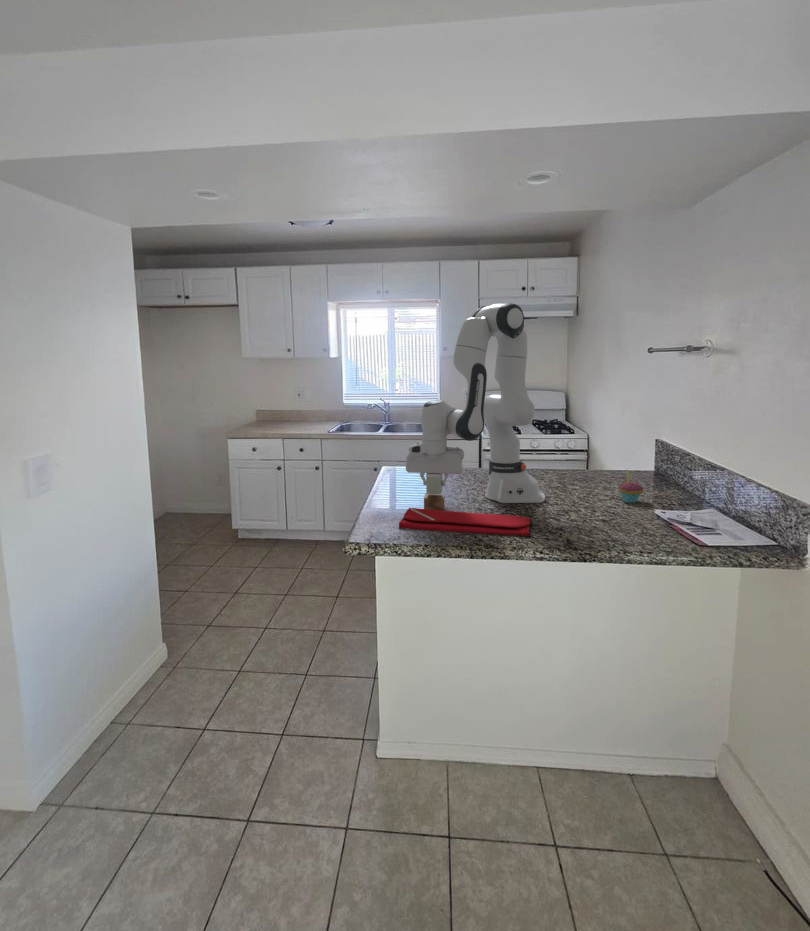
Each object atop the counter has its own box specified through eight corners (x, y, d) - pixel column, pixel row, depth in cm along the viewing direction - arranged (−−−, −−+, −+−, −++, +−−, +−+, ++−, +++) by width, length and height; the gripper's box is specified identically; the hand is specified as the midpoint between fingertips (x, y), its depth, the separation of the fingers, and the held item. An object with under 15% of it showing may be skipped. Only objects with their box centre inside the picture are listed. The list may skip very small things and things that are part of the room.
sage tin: (442, 490, 200) (442, 471, 198) (440, 494, 195) (440, 474, 193) (428, 490, 201) (428, 471, 199) (426, 494, 196) (425, 474, 194)
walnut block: (444, 506, 202) (444, 493, 201) (443, 512, 195) (443, 498, 194) (425, 506, 203) (425, 493, 202) (424, 511, 196) (423, 498, 195)
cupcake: (614, 501, 205) (616, 469, 202) (623, 496, 211) (625, 465, 209) (637, 505, 199) (640, 473, 197) (646, 500, 205) (648, 469, 203)
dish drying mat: (529, 538, 168) (529, 526, 167) (398, 530, 178) (398, 519, 177) (530, 522, 183) (530, 512, 182) (409, 516, 193) (409, 505, 192)
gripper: (464, 445, 195) (464, 484, 198) (407, 444, 199) (408, 482, 202) (462, 449, 189) (462, 488, 192) (404, 448, 193) (404, 486, 196)
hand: (434, 485), depth 197 cm, fingers closed on sage tin, 5 cm apart
